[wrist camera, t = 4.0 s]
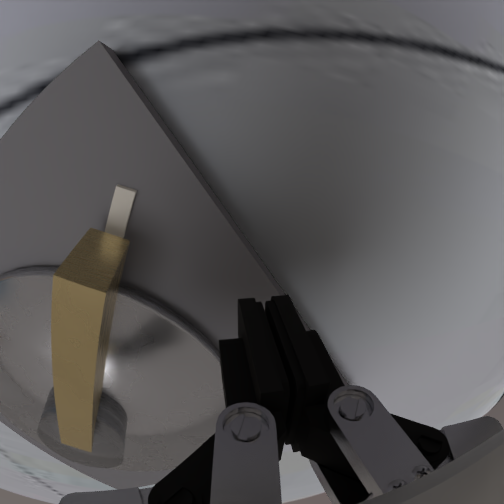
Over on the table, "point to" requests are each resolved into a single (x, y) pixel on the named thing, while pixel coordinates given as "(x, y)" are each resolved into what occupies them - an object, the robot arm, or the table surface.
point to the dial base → (122, 207)
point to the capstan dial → (104, 364)
